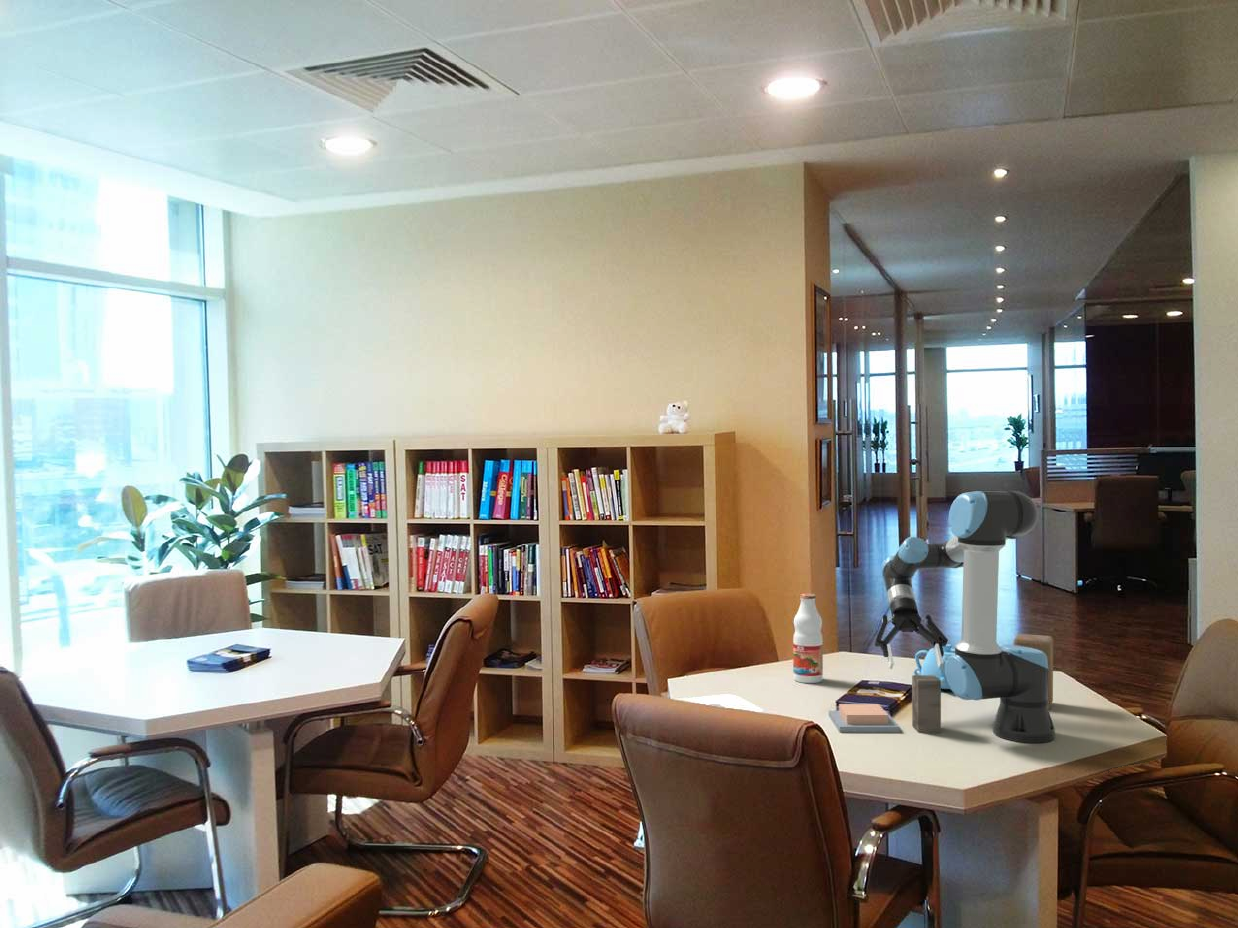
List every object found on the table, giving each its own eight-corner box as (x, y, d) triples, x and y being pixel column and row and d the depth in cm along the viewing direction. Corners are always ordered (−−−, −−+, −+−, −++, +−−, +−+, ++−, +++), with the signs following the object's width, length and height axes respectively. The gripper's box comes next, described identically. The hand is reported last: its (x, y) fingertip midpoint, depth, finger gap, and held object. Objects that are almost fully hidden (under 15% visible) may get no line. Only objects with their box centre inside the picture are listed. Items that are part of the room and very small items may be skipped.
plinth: (828, 715, 282) (828, 701, 282) (885, 715, 282) (885, 701, 282) (839, 732, 266) (839, 717, 266) (899, 732, 266) (899, 717, 266)
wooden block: (1013, 707, 290) (1013, 638, 289) (1016, 698, 299) (1016, 632, 298) (1050, 711, 285) (1050, 641, 285) (1053, 702, 294) (1053, 635, 294)
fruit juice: (828, 680, 324) (828, 594, 323) (811, 685, 317) (810, 597, 317) (805, 675, 331) (804, 591, 330) (787, 680, 324) (787, 594, 324)
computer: (665, 709, 292) (665, 700, 292) (732, 702, 299) (732, 693, 299) (697, 729, 271) (696, 719, 271) (768, 721, 279) (768, 711, 279)
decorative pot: (955, 680, 323) (955, 638, 323) (984, 691, 307) (984, 648, 307) (910, 683, 319) (909, 641, 319) (937, 695, 304) (937, 651, 303)
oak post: (912, 726, 272) (912, 675, 271) (934, 726, 271) (934, 675, 271) (918, 732, 266) (918, 680, 265) (940, 732, 265) (940, 680, 265)
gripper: (942, 610, 294) (958, 673, 280) (857, 611, 295) (869, 673, 281) (948, 595, 289) (964, 658, 274) (861, 596, 290) (873, 658, 275)
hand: (916, 666), depth 277 cm, fingers open, 13 cm apart
